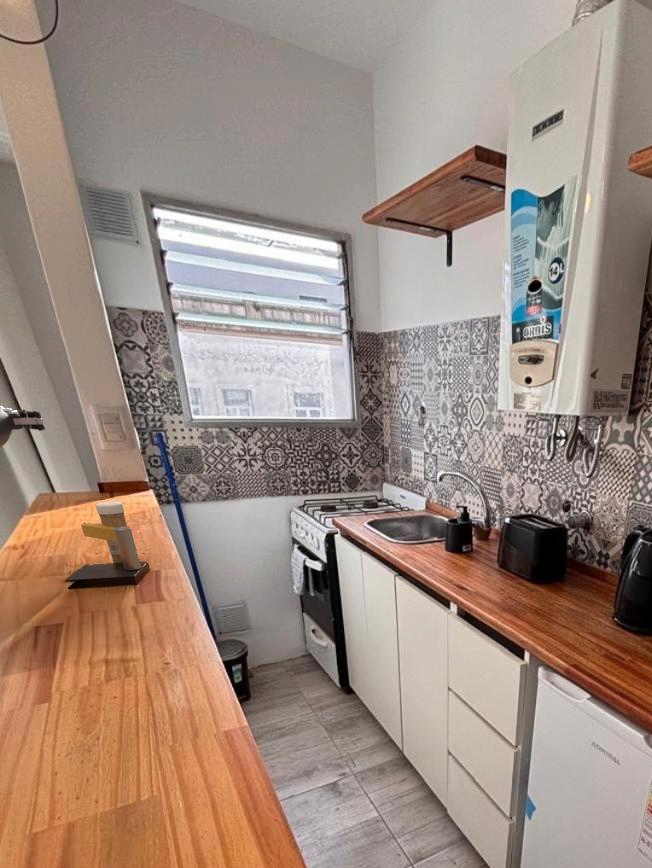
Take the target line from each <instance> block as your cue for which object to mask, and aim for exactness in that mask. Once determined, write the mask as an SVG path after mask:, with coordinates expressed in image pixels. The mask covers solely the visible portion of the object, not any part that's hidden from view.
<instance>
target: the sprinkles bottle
mask: <svg viewBox="0 0 652 868" xmlns="http://www.w3.org/2000/svg"><path fill="white" fill-rule="evenodd" d="M95 508H96V512H97V514H98V516H99V518H100V521H101V522H100V523H101V525H104V526H110V527H116V528H118V527H128V523H127V521H126V517H125V508H124V505H123V502H121V501H104V502H98V503H96V504H95ZM106 544H107V547H108V550H109V553H110V556H111V559H112V563H123V562H122V558H121V554H120V551H119V547H118V544H117V542H115V541H109V540H106Z"/></svg>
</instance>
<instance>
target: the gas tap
mask: <svg viewBox="0 0 652 868" xmlns="http://www.w3.org/2000/svg"><path fill="white" fill-rule="evenodd" d="M80 526H81V530H82V532H83V537H88V538H93V539H98V540H103V541H107V540H109V541H115V542H117V544H118V547H119V551H120V554H121V558H122V562H123V565H124V569H125V570H137V569H140V568H141V565H140V562H141V561H140V558H139V554H138V551H137V547H136V543H135V539H134V536H133V532H132V528H131V527H130V526H127V527H118V528H116V527H110V526H104V525H102V524H98V523H97V524H96V523H91V522H87V523H86V522H85V523H82V524H80Z"/></svg>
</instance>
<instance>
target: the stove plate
mask: <svg viewBox="0 0 652 868" xmlns="http://www.w3.org/2000/svg"><path fill="white" fill-rule="evenodd" d="M139 562H140V565H141V568H140V569H137V570H125V569H124V565H123V563H113V562H110V563H109V562H108V563H92V564H91V563H90V564H83V565H82V566H81V567H80V568H78V569H77V570H76V571H75V572H74V573H72V574H71V575H70V576H68V577H67V578H66V579H65V580H64V582H66V583H68V582H73V583H71V584H70V585H69V586H67V589H68V590H76V589H91V588H105V587H106V588H107V587H123V586H136V585H138V584H139V583H140V582H141V581H142V580H143V578H144V577H145V576H146V575H147V573H149V571H150V570H151V567H150V564H149V561H148V560H146V561H145V560H144V561H139Z"/></svg>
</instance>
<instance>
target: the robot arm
mask: <svg viewBox="0 0 652 868" xmlns="http://www.w3.org/2000/svg"><path fill="white" fill-rule="evenodd" d="M22 429H27V430H36V431H39V432H41V431H42V432H43V431H45V430H46V427H45V424H44V421H43V417H42V414H41V412H40V411H37V410H33V411H31V410H26V409H20V410H18V409H12V408H11V407H3V406H2V405H1V406H0V448H2V447H3V446H4V445H5V444H6V443H8V441H9V439H10V437H11V435H12V434H14V433H18V432H19V430H22Z"/></svg>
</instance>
